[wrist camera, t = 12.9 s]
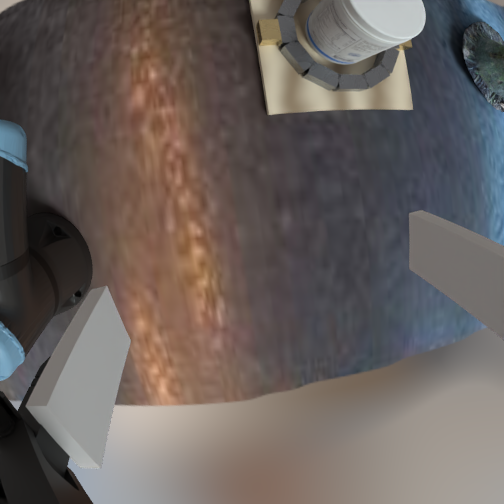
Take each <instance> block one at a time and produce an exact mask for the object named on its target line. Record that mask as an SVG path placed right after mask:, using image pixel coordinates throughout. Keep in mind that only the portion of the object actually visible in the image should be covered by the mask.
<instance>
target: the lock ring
mask: <svg viewBox="0 0 504 504" xmlns="http://www.w3.org/2000/svg"><path fill="white" fill-rule="evenodd" d="M306 1H308V0H284V1H283V2H282V4H281V6H280V8H279V10H278V12H277V14H276V16H275V18H274V19H263V20H258V23H257V25H256V30H257V36H258V42H259V46H267V45H278V48H282V50H281V51H280V52H281V54H282V55H283V56H284V57H285V58H286V60H287V61H288V62H289V63H290V65H291V66H292V67H293V68H294V69H295V71H296V72H297V73H298V75H299V74H301V73H303V72H304V71H305V72H304V74H303V76H302V78H304V79H306V80H308V81H311V82H313V83H315V84H317V85H319V86H321V87H323V88H325V89H327V90H329V91H330V90H333V92H345V91H356V92H359V91H363V90H367V89H370V88H372V87H374V86H375V85H377V84H378V83H380V82H381V81H383V80H384V79H386V78H387V77H389V76H390V74H391V73H392V72H393V69H394V66H395V63H396V61H397V58H398V55H399V52H400V51H398V50H406V49H409V48H411V47H412V44H411V39H410V40H408V41H406V42H404V43H401V44H399V45H396V46H394V47H391V48H389V49H387V50H384V51H382V52H379V53H378V54H377V56H376V59H375V62H374V64H373V67H372V68H370V69H369V70H367V71H366V72H364V73H362V74H361V75H353V74H338V73H336V72H334V71H333V70H331V69H329V68H327V67H325V66H323V65H321V64H319V63H317V62H315V61H314V60H313V58H312V57H311V56H310V55H309V53H308V52H307V51H306V50H305V48H304V47H303V46H302V45H301V44H300V42H299V41H298V38H297V33H296V28H295V23H294V18H293V17H294V15H295V13H296V11H297V9H298V7H299V5H300V4H302V3H304V2H306Z"/></svg>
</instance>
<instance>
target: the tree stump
mask: <svg viewBox="0 0 504 504" xmlns="http://www.w3.org/2000/svg"><path fill="white" fill-rule="evenodd" d="M462 51H463V55H464V59H465V62H466V65H467V68H468V70H469V72H470V74H471V76H472V78H473V80H474V82H475V84H476V85H477V87H478V88H479V89H480V91H481V92H482V94H483V95H484V96H485V98H486V99H487V101H488V102H489V103H490V104H491V105H492V106H493V107H494V108H496V109H497V110H501V112H504V41H503V40H502V38H501V36H500V35H499V33H498V32H496V31H495V30H493V29H492V27H490V26H489V25H488V24H486V23H485V22H476V23H473V24H471V25H470V26H469V27H468V28H466V29H465V32H464V34H463V48H462Z"/></svg>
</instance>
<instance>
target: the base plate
mask: <svg viewBox="0 0 504 504" xmlns="http://www.w3.org/2000/svg"><path fill="white" fill-rule="evenodd" d="M283 1H284V0H249V5H250V10H251V16H252V22H253V27H254V33H255V39H256V45H257V51H258V57H259V64H260V70H261V76H262V83H263V89H264V96H265V103H266V110H267V115H274V114H284V113H296V112H309V111H327V110H357V109H390V110H413V105H412V98H411V90H410V84H409V77H408V72H407V66H406V60H405V55H404V50H398V51H400V52H399V55H398V58H397V61H396V63H395V66H394V69H393V72H392V73H391V74H390V76H389V77H387V78H386V79H384V80H383V81H381V82H380V83H378V84H377V85H375V86H374V87H372V88H370V89H367V90H363V91H359V92H356V91H345V92H333V90H330V91H329V90H327V89H325V88H323V87H321V86H319V85H317V84H315V83H313V82H311V81H308V80H306V79H304V78H302V76H303V74H304V72H305V71H304V72H303V73H301V74H299V75H298V73H297V72H296V71H295V69H294V68H293V67H292V66H291V65H290V63H289V62H288V61H287V60H286V58H285V57H284V56H283V55H282V54H281V52H280V51H281V50H282V48H278V45H267V46H259V42H258V36H257V30H256V25H257V23H258V20H263V19H274V18H275V16H276V14H277V12H278V10H279V8H280V6H281V4H282V2H283ZM321 1H322V0H308V1H306V2H304V3H302V4H300V5H299V7H298V9H297V11H296V13H295V15H294V17H293V18H294V23H295V28H296V33H297V38H298V41H299V42H300V44H301V45H302V46H303V47H304V48H305V50H306V51H307V52H308V53H309V55H310V56H311V57H312V58H313V60H314V61H315V62H317V63H319V64H321V65H323V66H325V67H327V68H329V69H331V70H333V71H334V72H336V73H338V74H353V75H361V74H362V73H364V72H366V71H367V70H369V69H370V68H372V67H373V64H374V62H375V59H376V56H377V54H378V53H377V54H375V55H372V56H370V57H368V58H366V59H363V60H361V61H359V62H357V63H354V64H347V65H343V64H337V63H333V62H330V61H328V60H326V59H325V58H323V57H321V56H320V55H319V54H318V53H317V52H316V51H315V50H314V49H313V48H312V46H311V45H310V43H309V41H308V39H307V36H306V32H305V25H306V20H307V18H308V16H309V15H310V13H311V12H312V11H313V10H314V9H315V7H316V6H317V5H318V4H319V3H320V2H321Z"/></svg>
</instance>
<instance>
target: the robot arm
mask: <svg viewBox="0 0 504 504" xmlns="http://www.w3.org/2000/svg"><path fill="white" fill-rule="evenodd" d="M26 148H27V138H26V134H25V131H24V130H23V129H22V127H20V126H19V125H17V124H15V123H13V122H10V121H6V120H1V119H0V381H2V380H5V379H7V378H8V377H9V376H10V375H11V374H12V373H13V372H14V370H15V369H16V368H17V367H18V365H20V364H21V363H23V361H24V359H25V357H26V355H27V354H28V352H29V351H30V349H31V348H32V346H33V345H34V343H35V342H36V340H37V339H38V337H39V336H40V334H41V333H42V332H43V330H44V329H45V327H46V326H47V324H48V323H49V322H50V320H51V319H52V317H53V316H56V315H58V314H60V313H63V312H65V311H67V310H69V309H71V308H73V307H74V306H75V305H77V304H78V303H79V302H80V300H81V299H82V298H83V296H84V295H85V294H86V292H87V290H88V288H89V286H90V283H91V279H92V260H91V255H90V252H89V249H88V246H87V244H86V242H85V240H84V239H83V237H82V235H81V234H80V233H79V231H78V230H77V229H76V228H75V227H74V226H73V225H72V224H71V223H70V222H68V221H67V220H65V219H64V218H62V217H60V216H58V215H55V214H51V213H38V214H35V215H32V216H30V217H28V218H27V204H26V179H27V172H28V166H27V165H26ZM409 236H410V257H409V269H410V270H412V271H413V272H414V273H416V274H417V275H419V276H420V277H421V278H423V279H424V280H426V281H427V282H429V283H430V284H431V285H433V286H434V287H435V288H437V289H438V290H440V291H441V292H442V293H444V294H445V295H446V296H448V297H449V298H450V299H452V300H453V301H454V302H456V303H457V304H458V305H460V306H461V307H462V308H464V309H465V310H466V311H468V312H469V313H470V314H472V315H473V316H474V317H475V318H477V319H478V320H479V321H481V322H482V323H483V324H484V325H486V326H487V327H488V328H489V329H491V330H492V331H493V332H494V333H496V334H497V335H498V336H499V337H500V338H502V339H503V340H504V246H503V245H500V244H498V243H496V242H494V241H492V240H490V239H488V238H486V237H483V236H481V235H479V234H477V233H475V232H472V231H470V230H468V229H466V228H463V227H461V226H459V225H456V224H454V223H452V222H449V221H447V220H445V219H442V218H440V217H437V216H435V215H432V214H430V213H427V212H425V211H422V210H420V211H416V212H412V213H409ZM130 342H131V340H130V338H129V336H128V334H127V331H126V329H125V327H124V325H123V323H122V320H121V318H120V316H119V313H118V311H117V309H116V306H115V304H114V302H113V299H112V297H111V294H110V292H109V289H108V287H107V286H104V287H100V288H96V289H92V290H91V291H90V292H89V294H88V295H87V297H86V299H85V300H84V302H83V303H82V305H81V306H80V308H79V310H78V311H77V313H76V314H75V316H74V318H73V319H72V321H71V323H70V324H69V326H68V328H67V329H66V331H65V333H64V335H63V336H62V338H61V340H60V341H59V343H58V345H57V347H56V348H55V350H54V352H53V354H52V356H51V357H49V358H48V359H47V360H46V361H45V362H44V363H43V364H42V365H41V367H40V368H39V370H38V372H37V374H36V376H35V379H33V381H32V383H31V387H29V389H28V391H27V393H26V395H25V397H24V399H23V401H22V403H21V405H20V407H19V409H18V411H17V410H16V409H15V408H14V407H13V405H12V404H11V402H10V401H9V400H8V398H7V397H6V396H5V394H4V393H3V392H1V391H0V504H93V503H92V501H91V500H90V498H89V497H88V495H87V494H86V492H85V490H84V489H83V487H82V486H81V484H80V483H79V481H78V479H77V478H76V476H75V474H74V473H73V472H72V471H71V470H70V469H69V468H68V467H67V465H68V461H69V457H70V458H71V459H72V460H73V461H74V462H75V463H76V464H77V465H78V466H79V467H80V468H101V467H102V461H103V457H104V451H105V446H106V441H107V436H108V431H109V427H110V422H111V417H112V413H113V408H114V404H115V400H116V396H117V392H118V388H119V384H120V380H121V376H122V372H123V368H124V364H125V360H126V357H127V353H128V350H129V346H130Z"/></svg>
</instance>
